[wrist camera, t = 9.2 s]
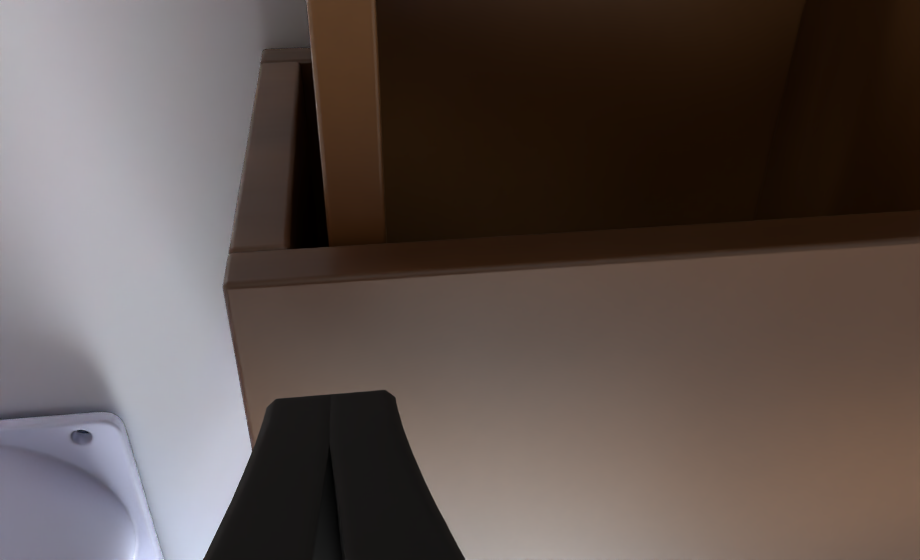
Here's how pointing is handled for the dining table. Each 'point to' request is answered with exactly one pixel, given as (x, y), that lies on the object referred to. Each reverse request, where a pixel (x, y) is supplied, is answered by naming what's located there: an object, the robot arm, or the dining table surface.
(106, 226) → the dining table surface
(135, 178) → the dining table surface
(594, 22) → the drawer
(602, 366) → the cabinet
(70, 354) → the dining table surface
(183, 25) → the dining table surface
